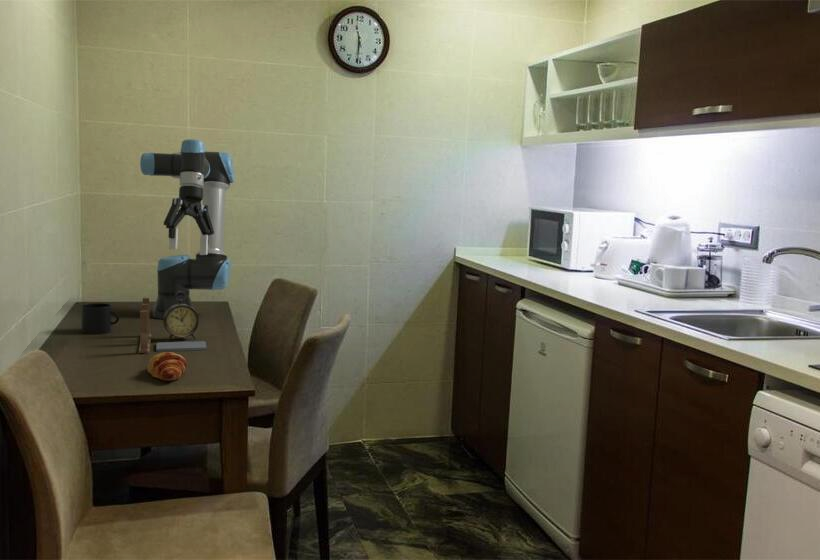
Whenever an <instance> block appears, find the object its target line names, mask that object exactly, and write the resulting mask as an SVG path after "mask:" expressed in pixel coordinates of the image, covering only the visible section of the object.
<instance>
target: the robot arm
mask: <svg viewBox="0 0 820 560" xmlns="http://www.w3.org/2000/svg"><path fill="white" fill-rule="evenodd" d="M180 146H181V147H180V152H179V151H178V152H172V153H160V152H159V153H158V152H143V153H142V154H141V156H140V164H139V165H140V170H141V174H143V175H144V176H151V177H152V176H159V177H161V176H162V177H171V178H173V179H179V186H180V187H178V197H175V198H174V197H173V198H172V200H171V201H172V202H171V206H170V208H169V210H168V212H167V215H166V217H165V219H164V221H163V225H164V226H165V228H166V229H168V239H169V244H168V245H169V247H168V250H178V241H179V240H178V239H179V237H178V236H179V228H177V227H178V225H179V224H180V223H181V222H182V220H183V219H184V217H185V216H189V217H192V219H194V221H195V222H196V223H195V224H197V227H198V229H199V231H200V239H199V251H197V252H196V253H195V258H191V257H190V255H189V254H177V255H170V256H165V257H161V258H160V259H159V260H158V261H157V269H156V272H157V297H156V300H155V303H154V308H153V310H152V317H153V318H156V319H160V320H163V318H164V314H165V312H166V311H167V310H168V309H169V308H170V307H171V306H173V305H175V304H179V301H178V300H180V299H181V300H183V299H184V297H185V295H186V297H185V299H184V300H183V301H182V304H186V305H188V306H190V307H192V308H193V309H194V308H195V307H194V305H193V301H192V300H191V299H192V298H191V296H190V290H201V291H202V290H204V291H205V290H207V291H209V290H211V291H218V290H219V291H220V290H221V291H223V290H225V289H226V288H227V286H228V284H229V280H230V276H231V265H232V262H231V260H230V259H228V255H227V254H226V253H225V252H224V241H225V240H224V239H225V237H224V236H225V235H224V234H225V219H226V218H225V216H226V215H225V213H226V212H225V211H226V192H227V191H228V190H229V189H230V187H231V184H233V183H234V182H235V172H234V163H233V159H232V155H231V154H230V153H229V152H220V151H206V145H205V142H203V141H202V140H199V139H191V138H190V139H189V138H188V139H184V140H183V141H181V145H180ZM201 202H202V203H201ZM179 291H182V292H184V293H185V295H184V293H182V292H179ZM177 292H179V293H177ZM176 293H177V295H176ZM175 295H176V298H177V299H178V300H177V299H176V298H175Z"/></svg>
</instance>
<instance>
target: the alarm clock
mask: <svg viewBox="0 0 820 560" xmlns="http://www.w3.org/2000/svg"><path fill="white" fill-rule="evenodd" d="M179 292H182V291H179ZM179 292H177V293H179ZM177 293H176V295H177ZM182 293H184V292H182ZM176 295H175V298H176ZM184 295H185V293H184ZM185 297H186V295H185ZM185 297H184V299H185ZM176 299H177V298H176ZM184 299H183V300H184ZM177 300H178V299H177ZM183 300H181V299H180V300H178V301H179V304H175V305H173V306H171V307H170V308H169V309H168V310H167V311H166V312H165V314H164V318H163V319H162V323H163V328H164V329H165V330H166V331H167V332H168V334H170V335H169V336H168V339H167V342H169V341H170V340H171V339H172V337H175V338H180V339H184V338H188V337H189V336H191V337H192V338H193V339H194V340H196V338H197V337H196V336H195V334H194V333H195V332H196V331H197V329H198V327H199V323H200V318H199V314H198V312H197V311H196V309H193V308H194V307H193V308H192V307H190V306H188V305H186V304H182V301H183Z"/></svg>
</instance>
